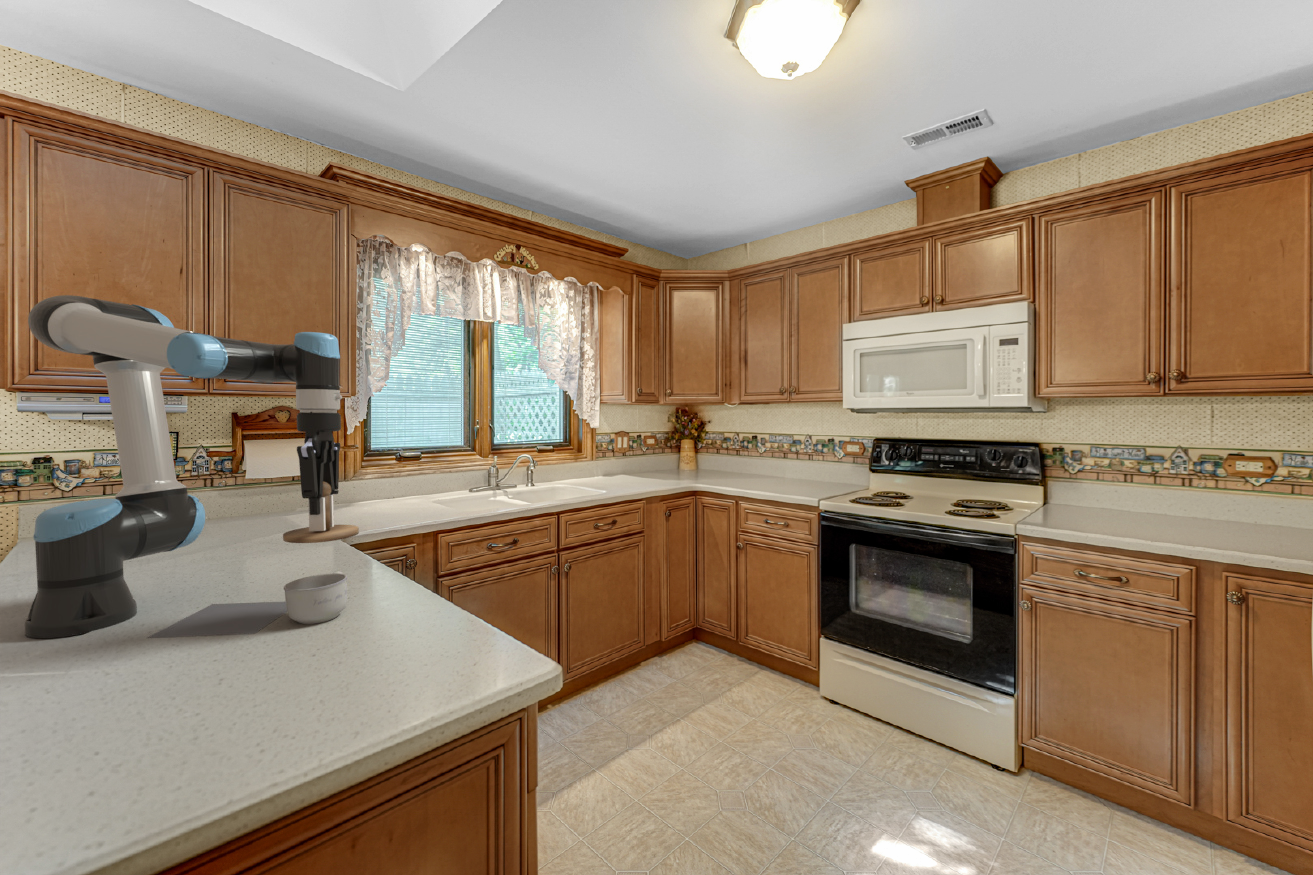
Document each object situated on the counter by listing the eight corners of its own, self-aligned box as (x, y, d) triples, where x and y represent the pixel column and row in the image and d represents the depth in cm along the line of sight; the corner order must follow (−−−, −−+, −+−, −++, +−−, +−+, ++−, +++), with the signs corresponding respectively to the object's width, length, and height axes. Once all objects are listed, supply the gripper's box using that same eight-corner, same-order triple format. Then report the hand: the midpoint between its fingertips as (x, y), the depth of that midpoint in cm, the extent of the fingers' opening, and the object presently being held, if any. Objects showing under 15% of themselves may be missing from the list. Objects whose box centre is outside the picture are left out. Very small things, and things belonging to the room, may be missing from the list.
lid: (269, 544, 105) (267, 485, 105) (303, 530, 118) (301, 478, 117) (342, 542, 107) (341, 484, 106) (368, 528, 120) (367, 477, 119)
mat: (146, 640, 101) (146, 637, 101) (212, 605, 119) (212, 603, 119) (254, 635, 103) (254, 633, 103) (303, 602, 121) (303, 600, 121)
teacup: (319, 631, 105) (318, 589, 105) (270, 627, 107) (269, 586, 107) (371, 606, 119) (370, 569, 118) (326, 603, 121) (326, 566, 121)
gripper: (320, 411, 104) (323, 537, 105) (355, 411, 120) (357, 520, 121) (276, 411, 103) (280, 538, 104) (317, 411, 119) (320, 521, 120)
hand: (321, 528), depth 112 cm, fingers closed on lid, 3 cm apart
